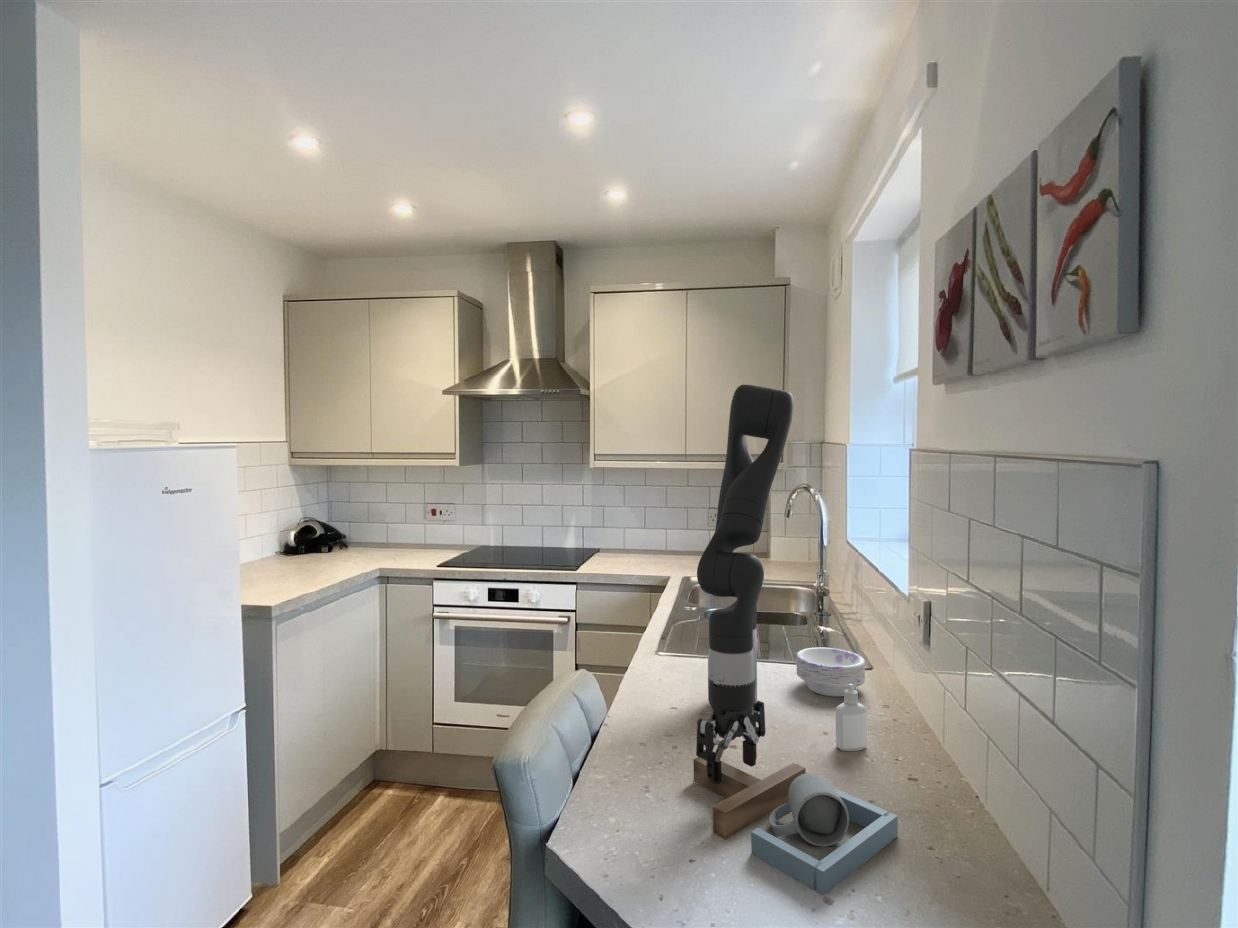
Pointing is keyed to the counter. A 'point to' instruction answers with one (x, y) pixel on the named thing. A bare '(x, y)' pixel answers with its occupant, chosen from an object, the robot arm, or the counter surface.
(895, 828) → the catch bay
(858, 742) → the eye dropper bottle
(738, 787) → the scraper
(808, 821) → the ceramic mug
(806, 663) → the paper bowls
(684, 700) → the counter surface
